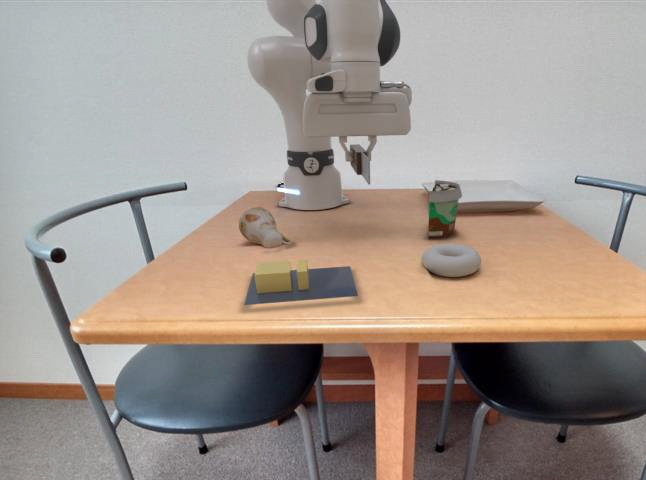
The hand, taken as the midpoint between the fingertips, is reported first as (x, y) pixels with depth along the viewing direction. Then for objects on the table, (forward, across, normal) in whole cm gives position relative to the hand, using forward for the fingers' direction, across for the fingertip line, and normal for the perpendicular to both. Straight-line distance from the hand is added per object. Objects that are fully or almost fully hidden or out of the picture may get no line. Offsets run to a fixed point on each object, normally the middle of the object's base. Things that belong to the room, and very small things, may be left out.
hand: (358, 160), depth 84 cm
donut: (+15, -13, +21) cm, 29 cm away
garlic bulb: (+16, +19, +2) cm, 25 cm away
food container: (+15, -18, +1) cm, 24 cm away
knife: (+2, 0, +4) cm, 5 cm away
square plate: (+16, -34, -24) cm, 45 cm away
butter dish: (+15, +12, +25) cm, 32 cm away
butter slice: (+14, +12, +25) cm, 31 cm away
